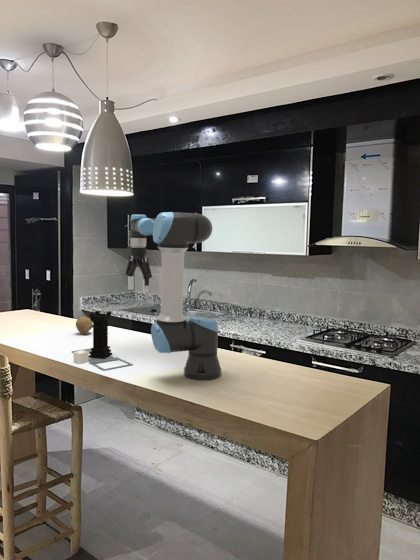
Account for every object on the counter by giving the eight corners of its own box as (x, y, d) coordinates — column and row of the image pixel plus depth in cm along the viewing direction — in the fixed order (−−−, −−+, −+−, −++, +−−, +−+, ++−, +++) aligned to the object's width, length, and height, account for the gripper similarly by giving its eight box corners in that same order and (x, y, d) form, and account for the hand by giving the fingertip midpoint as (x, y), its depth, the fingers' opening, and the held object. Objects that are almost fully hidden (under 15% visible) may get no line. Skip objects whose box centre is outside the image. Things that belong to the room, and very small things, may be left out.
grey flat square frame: (132, 365, 193) (132, 364, 193) (103, 370, 184) (103, 369, 184) (117, 358, 203) (117, 357, 203) (89, 363, 195) (89, 362, 195)
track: (117, 360, 201) (117, 358, 200) (94, 364, 193) (94, 363, 193) (93, 348, 219) (93, 347, 219) (71, 352, 212) (71, 351, 212)
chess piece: (104, 359, 200) (104, 314, 198) (88, 357, 201) (88, 313, 199) (112, 354, 208) (112, 311, 206) (96, 353, 209) (96, 310, 207)
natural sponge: (82, 331, 256) (82, 314, 255) (96, 333, 253) (95, 315, 252) (72, 334, 247) (72, 317, 246) (86, 336, 244) (85, 318, 243)
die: (88, 362, 197) (88, 351, 196) (79, 364, 193) (79, 353, 193) (82, 360, 200) (82, 349, 199) (73, 362, 196) (73, 351, 196)
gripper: (159, 247, 209) (159, 293, 211) (131, 246, 227) (131, 287, 230) (145, 248, 204) (145, 294, 206) (118, 246, 223) (118, 288, 225)
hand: (138, 290), depth 218 cm, fingers open, 13 cm apart
